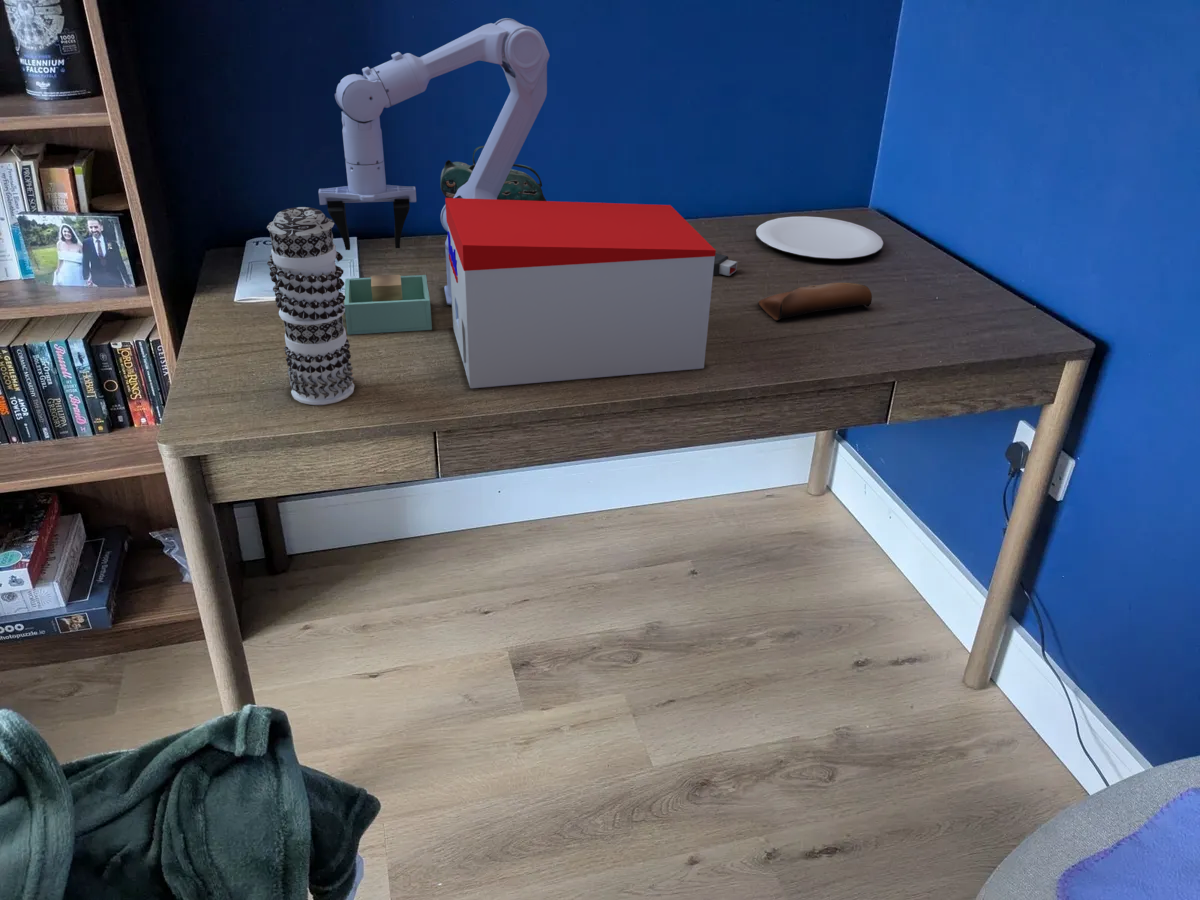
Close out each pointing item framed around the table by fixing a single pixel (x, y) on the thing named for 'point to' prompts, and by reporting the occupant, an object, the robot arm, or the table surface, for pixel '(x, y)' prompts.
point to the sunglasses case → (816, 299)
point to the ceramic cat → (513, 187)
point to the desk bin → (387, 307)
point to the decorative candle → (311, 305)
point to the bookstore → (575, 290)
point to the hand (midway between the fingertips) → (372, 247)
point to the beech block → (386, 287)
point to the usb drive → (724, 265)
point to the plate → (819, 238)
